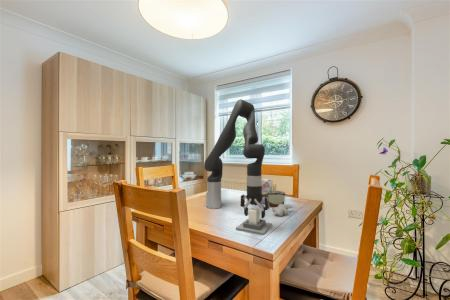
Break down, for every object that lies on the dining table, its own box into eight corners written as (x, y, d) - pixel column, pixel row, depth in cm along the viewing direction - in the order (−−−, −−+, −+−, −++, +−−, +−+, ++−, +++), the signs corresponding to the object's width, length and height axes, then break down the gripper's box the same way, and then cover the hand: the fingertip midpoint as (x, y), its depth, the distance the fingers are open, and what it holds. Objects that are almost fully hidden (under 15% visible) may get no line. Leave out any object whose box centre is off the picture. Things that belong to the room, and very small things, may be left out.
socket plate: (235, 229, 106) (235, 223, 105) (247, 220, 118) (247, 215, 118) (263, 235, 99) (263, 228, 99) (272, 225, 111) (272, 219, 111)
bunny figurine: (269, 208, 127) (278, 200, 139) (270, 217, 127) (279, 208, 140) (285, 211, 121) (293, 202, 134) (285, 220, 122) (294, 210, 134)
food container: (284, 205, 148) (284, 190, 148) (286, 207, 142) (286, 192, 142) (266, 204, 149) (266, 190, 149) (266, 207, 143) (266, 192, 143)
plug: (248, 226, 107) (248, 210, 107) (252, 223, 111) (252, 207, 111) (256, 227, 105) (256, 211, 105) (259, 224, 110) (259, 208, 109)
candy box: (257, 204, 149) (256, 181, 149) (252, 203, 155) (252, 180, 154) (272, 202, 156) (272, 179, 155) (267, 200, 161) (267, 178, 161)
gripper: (270, 184, 108) (270, 216, 108) (244, 182, 115) (244, 212, 115) (265, 186, 101) (265, 221, 101) (238, 184, 108) (238, 216, 108)
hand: (254, 216), depth 108 cm, fingers open, 8 cm apart
